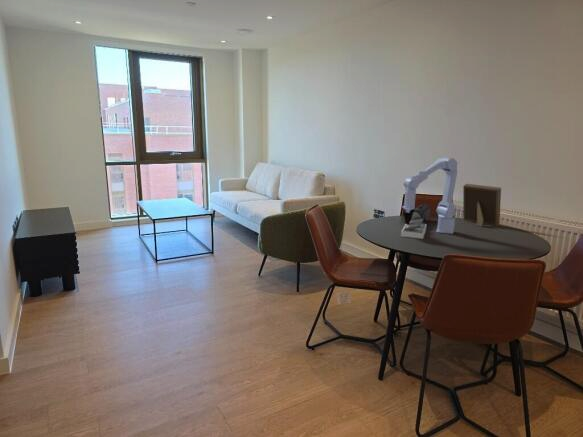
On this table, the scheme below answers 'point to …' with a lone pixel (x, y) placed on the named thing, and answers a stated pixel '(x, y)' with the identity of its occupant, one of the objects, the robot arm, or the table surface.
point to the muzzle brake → (421, 212)
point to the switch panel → (414, 232)
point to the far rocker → (416, 221)
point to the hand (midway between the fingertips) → (408, 222)
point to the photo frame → (481, 204)
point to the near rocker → (413, 226)
